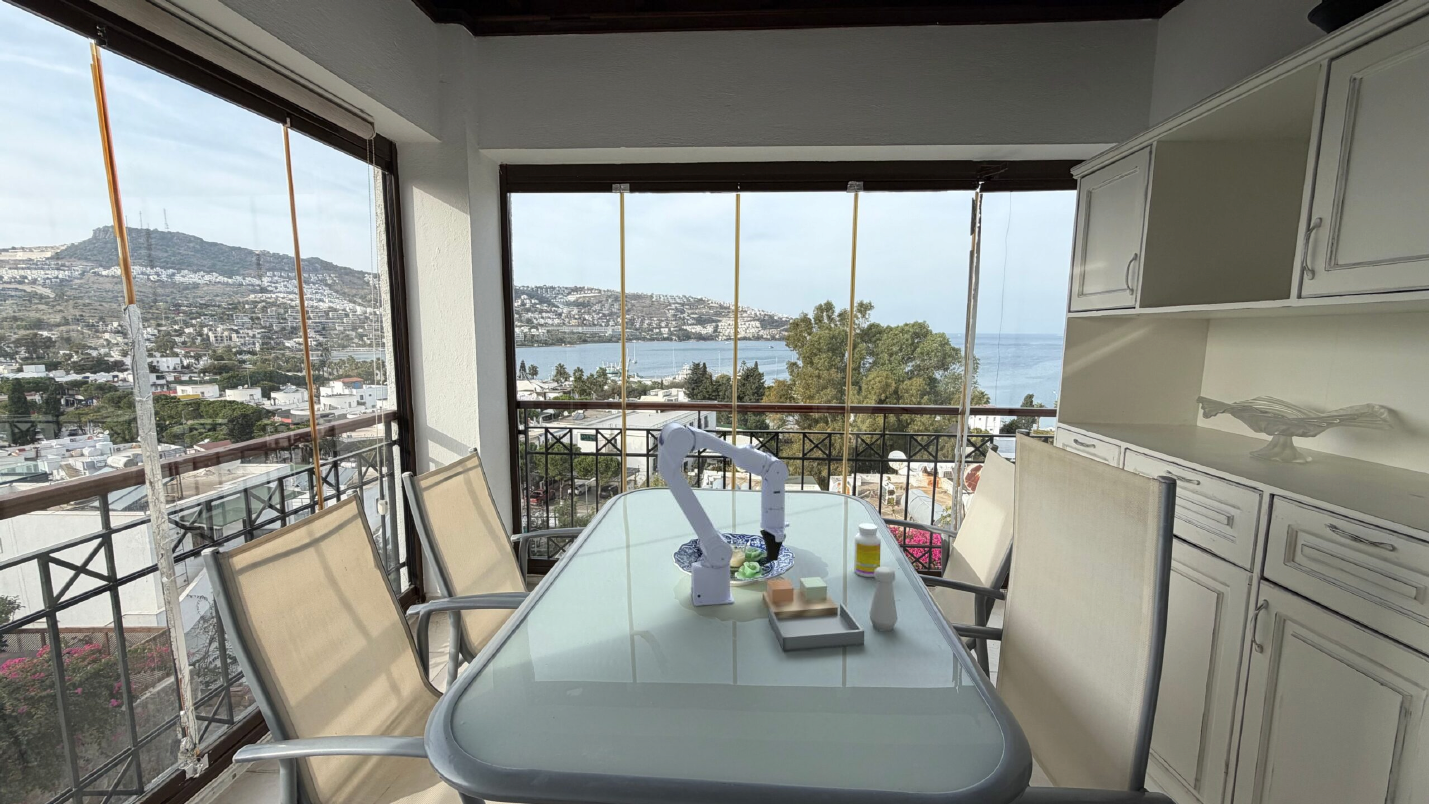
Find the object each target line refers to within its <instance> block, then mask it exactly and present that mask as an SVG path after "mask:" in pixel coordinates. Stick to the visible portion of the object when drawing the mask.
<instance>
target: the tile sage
mask: <svg viewBox="0 0 1429 804" xmlns="http://www.w3.org/2000/svg"><path fill="white" fill-rule="evenodd" d="M799 589H800V591H801V593H802V595H803V596H804V598H805V599H806V600H811V599H825V598H827V594H828V585H827V584H826V583H825V581H824V580H823V579H822V578H821V576H814V577H802V578H801V577H800V578H799Z"/></svg>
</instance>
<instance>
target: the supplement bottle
mask: <svg viewBox="0 0 1429 804" xmlns="http://www.w3.org/2000/svg"><path fill="white" fill-rule="evenodd" d="M858 531H859V532H858V533H857V534H856V535H855V536H854V555H853V556H854V557H853V558H854V559H853V560H854V562H853V571H854V573H856V575H858V576H861V577H863V578H864V577H866V578H875V577H874V572H875V569H876V568H878V567H881V543H882V542H881V540H882V539H881V538H880V536H879V535H878V534H877V533H878V526H877V525H876V524H873V523H860V524H859V525H858Z"/></svg>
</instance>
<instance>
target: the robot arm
mask: <svg viewBox="0 0 1429 804" xmlns="http://www.w3.org/2000/svg"><path fill="white" fill-rule="evenodd" d="M692 449H693V451H694V452H695V451H699V450H702V449H707V450H709V451H711V452H714V453H716V454H719V455H721V456H723V457H727V458H729V459H731V460H732V463H733V465H734V466H735V467H736V468H738V469H741V470H743V471H745V472H748V473H750V474H753V475H755V476H757V477H761V491H760V493H761V494H760V495H761V496H760V497H761V499H760V500H761V501H760V503H761V504H760V505H761V506H760V507H761V509H760V510H761V512H760V514H761V515H760V516H761V517H760V519H761V520H760V528H761V529H760V530H759V532H760V535H761V536H762V540H763V542H764V546H765V551H766V552H765V553H766V556H767V559H768V561H769V562H776V561H778V559H779V557H780V556H779V555H780V551H781V548H782V545H783V543H785V539H786V537H787V534H786V533H785V530H786V528H789V527H790V523H789V522H788V521H785V520H786V519H785V518H786V516H785V514H786V513H785V512H786V511H785V509H786V507H785V506H786V501H785V500H786V482H787V480H788V479H789V475H790V471H789V469H788V465H786V463H785V462H784V461H783V460H781V459H778V457H775V456H774V455H773V454H772V453H770V452H763V451H761V450H758V448H757V449H756V446H755V445H753V444H752V443H748V444H746V443H743V444H740V445H737V446H736V445H734V444H732V443H731V442H729V441H726V440H724V439H721V438H720V437H717V436H716V435H713V434H711V433H709V432H707V431H705V430H703V429H700V428H697V427H695V426H691V425H688V424H685V426H684V425H683V424H682V423H681V422H680V421H679V422H678V421H670V422H667V423H666V424H664V425H663V427H662V429H661V430H660V432H659V435H658V437H657V460H656V461H657V463H656V466H657V467H656V469H657V472H658V473H659V475H660V476H661V478H662V480H663V481H664V483H665V485H666V486H667V488H668V490H669V491H670V492H671V494H672V496H673V498H674V499H675V501H676V503H677V504H678V506H679V508H680V509H681V511H682V513H683V514H684V517H685V518H686V519H687V521H688V522H689V524H690V526H691V527H692V530H693V531H694V533H695V535H696V536H697V540H698V547H699V548H700V550H701V551H702V554H701V556H700V559H699V561H696V562H692V563H691V568H690V570H691V571H690V574H691V575H690V577H691V578H690V579H691V581H690V582H691V584H690V585H691V586H690V593H691V596H692V600H693V605H694V606H696V607H697V606H711V605H722V604H723V605H725V604H733V603H735V599H734V597H733V594H732V591H731V560H732V559H733V554H734V553H733V548H732V546H731V544H730V543H729V542H727V540H726V539H725V538H724V535H723V534H722V532H721V531H720V530H718V529H717V528H716V527H715V525H714V524H713V523H712V521H711V519H710V518H709V516H708V514H707V513H706V511H705V508H704V507H703V506H702V504H701V503H700V501H699V499H698V497H697V495H696V494H695V492H694V491H693V489H692V487H691V485H690V484H689V482H688V480H687V479H686V476H685V475H684V474H683V472H682V470H681V468H682V465H683V462H684V459H685V458H686V457H687V456H688V455H689V453H690V452H691V450H692Z"/></svg>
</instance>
